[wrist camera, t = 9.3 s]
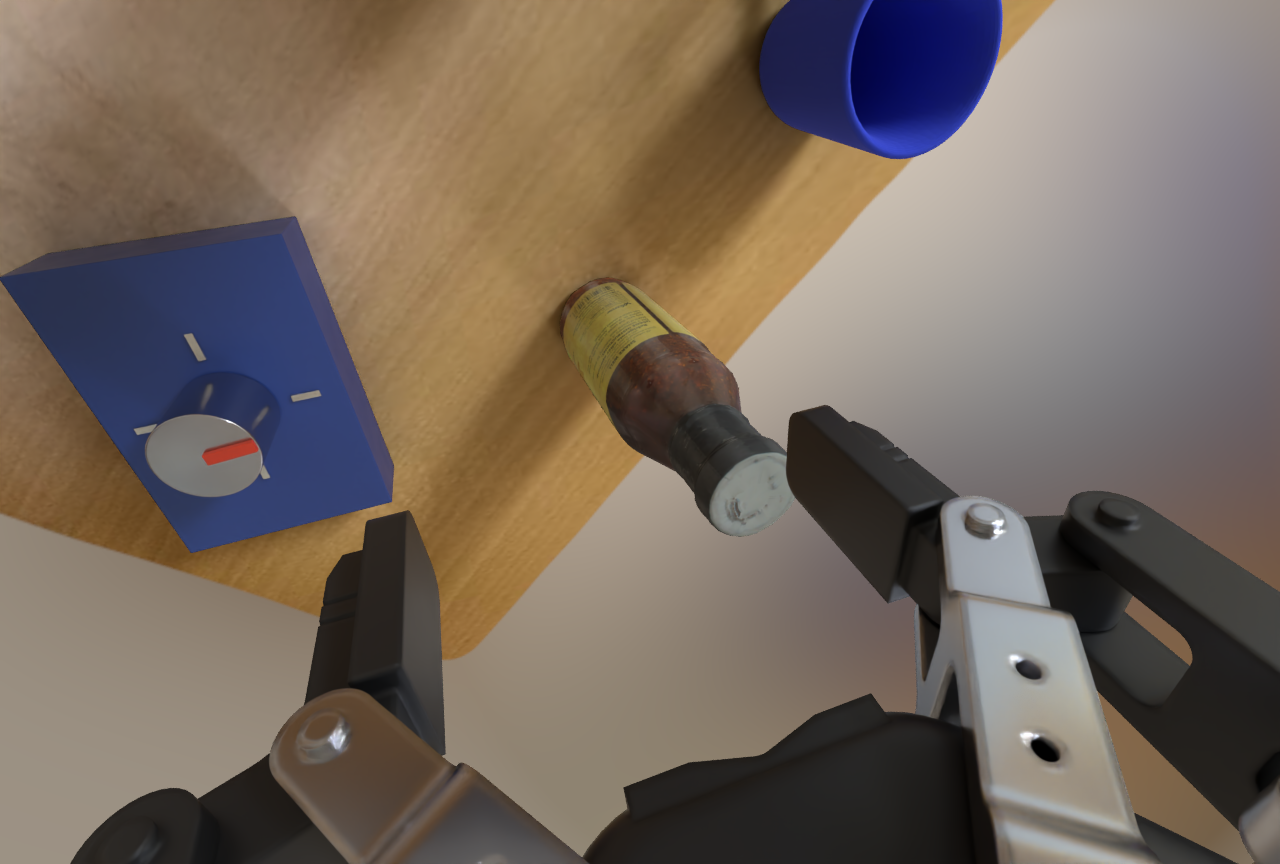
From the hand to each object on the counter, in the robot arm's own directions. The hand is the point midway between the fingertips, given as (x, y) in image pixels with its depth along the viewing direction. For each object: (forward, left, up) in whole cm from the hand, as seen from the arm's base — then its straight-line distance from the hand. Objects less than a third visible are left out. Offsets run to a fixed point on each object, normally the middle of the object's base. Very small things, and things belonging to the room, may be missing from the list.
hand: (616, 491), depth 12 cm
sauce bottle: (+7, +6, -26) cm, 28 cm away
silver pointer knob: (+6, -15, -22) cm, 27 cm away
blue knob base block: (+6, -15, -26) cm, 31 cm away
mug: (-8, +19, -26) cm, 33 cm away
